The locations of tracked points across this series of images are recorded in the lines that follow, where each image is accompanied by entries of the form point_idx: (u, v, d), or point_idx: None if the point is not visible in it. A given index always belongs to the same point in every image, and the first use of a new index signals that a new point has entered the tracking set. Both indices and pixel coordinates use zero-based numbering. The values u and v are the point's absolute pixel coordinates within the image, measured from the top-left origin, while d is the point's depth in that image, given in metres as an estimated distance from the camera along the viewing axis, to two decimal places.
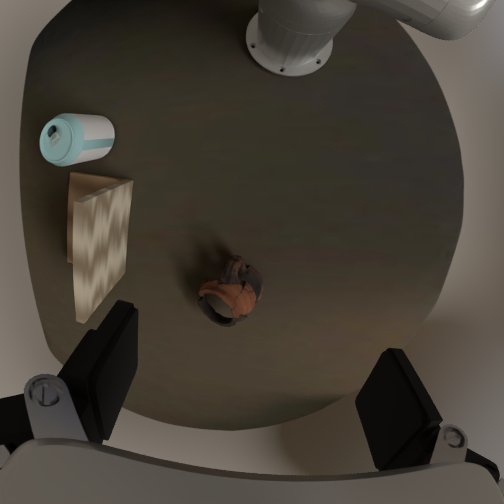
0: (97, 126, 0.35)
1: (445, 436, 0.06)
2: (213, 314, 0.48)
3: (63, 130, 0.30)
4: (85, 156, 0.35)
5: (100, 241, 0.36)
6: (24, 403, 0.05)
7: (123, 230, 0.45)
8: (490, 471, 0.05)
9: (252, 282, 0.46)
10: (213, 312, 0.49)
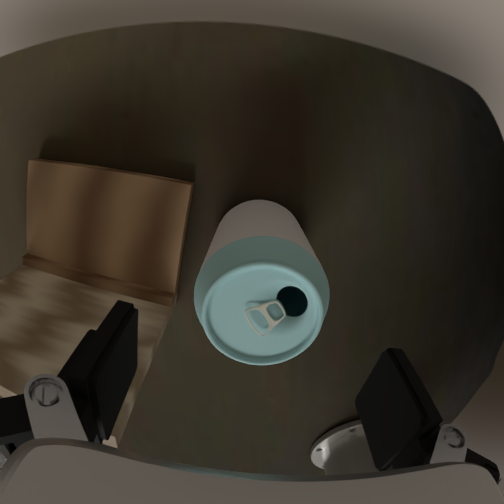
0: None
1: (445, 436, 0.06)
2: None
3: (284, 336, 0.15)
4: None
5: None
6: (24, 403, 0.05)
7: None
8: (490, 471, 0.05)
9: None
10: None
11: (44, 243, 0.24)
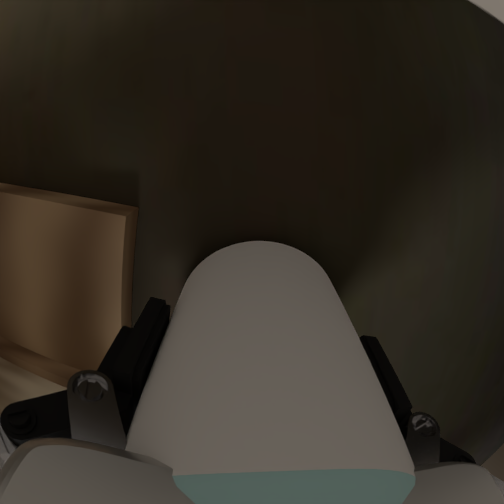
0: None
1: (415, 425, 0.07)
2: None
3: None
4: None
5: None
6: (65, 400, 0.06)
7: None
8: None
9: None
10: None
11: None
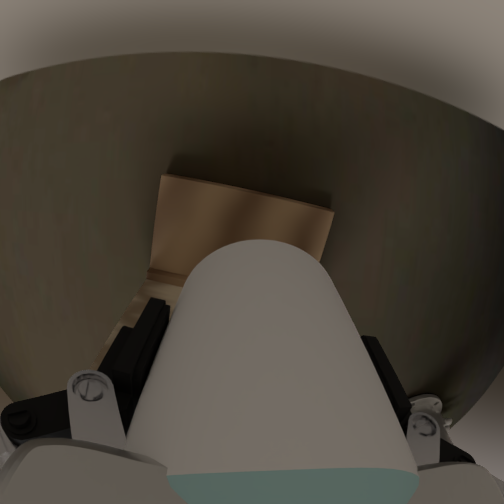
0: None
1: (415, 425, 0.07)
2: None
3: None
4: None
5: None
6: (65, 400, 0.06)
7: None
8: None
9: None
10: None
11: (175, 258, 0.29)
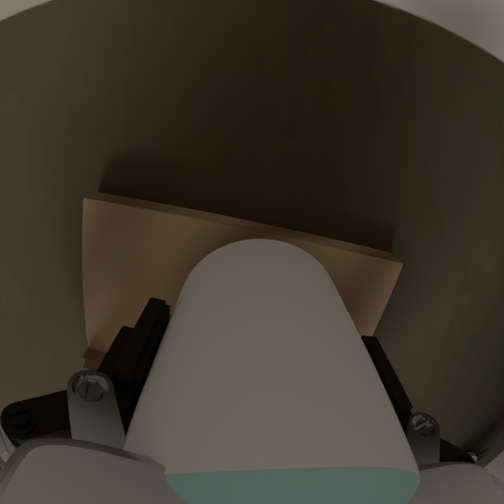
0: None
1: (415, 425, 0.07)
2: None
3: None
4: None
5: None
6: (65, 400, 0.06)
7: None
8: None
9: None
10: None
11: None
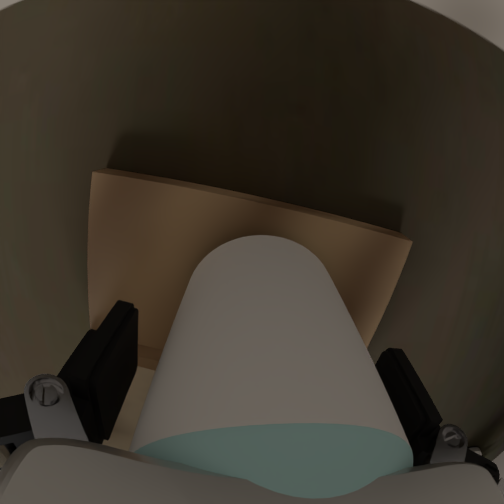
0: None
1: (445, 436, 0.06)
2: None
3: None
4: None
5: None
6: (24, 403, 0.05)
7: None
8: (490, 471, 0.05)
9: None
10: None
11: None
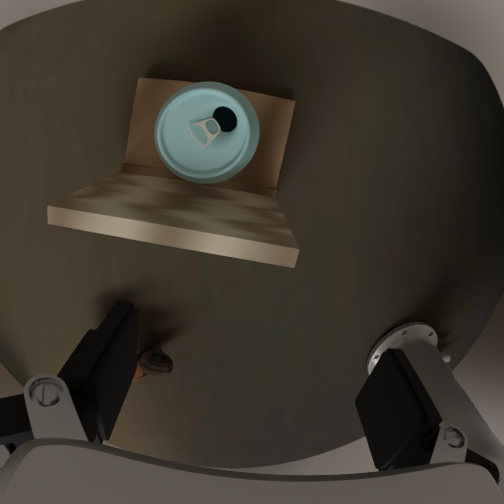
0: None
1: (445, 436, 0.06)
2: None
3: (221, 150, 0.18)
4: None
5: None
6: (24, 403, 0.05)
7: None
8: (490, 471, 0.05)
9: (146, 374, 0.38)
10: None
11: (148, 151, 0.29)
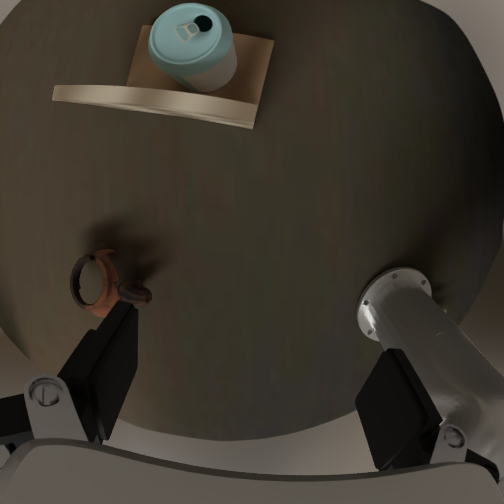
0: (210, 81, 0.25)
1: (445, 436, 0.06)
2: (78, 272, 0.36)
3: (199, 44, 0.19)
4: None
5: (178, 112, 0.23)
6: (24, 403, 0.05)
7: (185, 116, 0.31)
8: (490, 471, 0.05)
9: None
10: (80, 270, 0.37)
11: (145, 82, 0.30)
